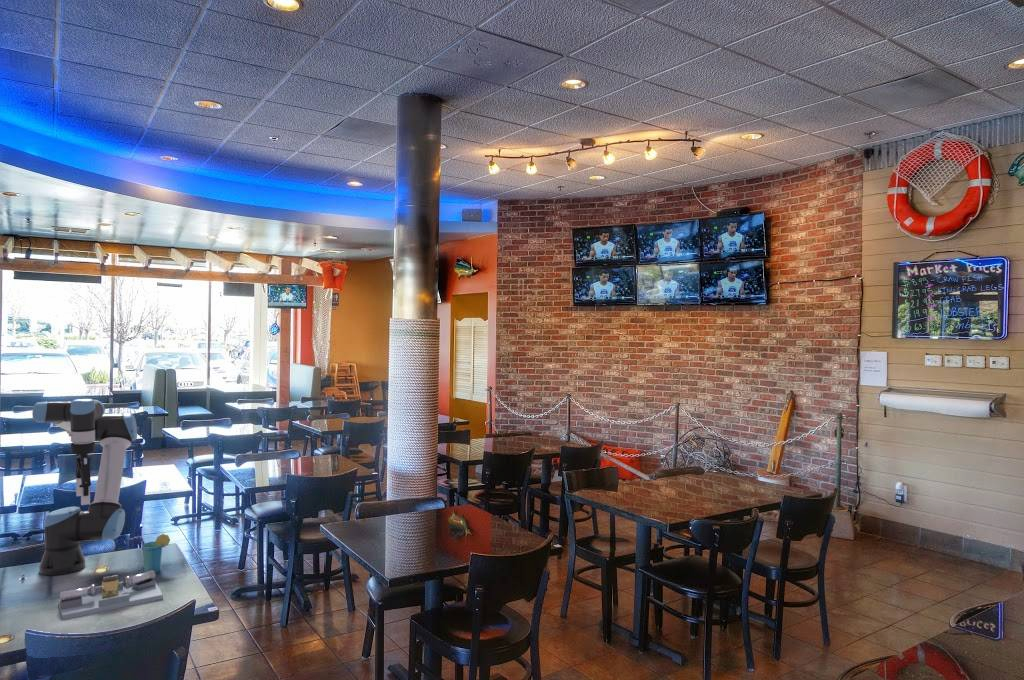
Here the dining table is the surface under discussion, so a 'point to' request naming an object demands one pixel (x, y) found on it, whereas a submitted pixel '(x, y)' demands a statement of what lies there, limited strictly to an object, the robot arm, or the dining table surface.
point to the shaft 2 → (140, 581)
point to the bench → (107, 601)
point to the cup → (153, 552)
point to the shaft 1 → (78, 593)
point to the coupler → (110, 586)
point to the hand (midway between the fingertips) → (83, 500)
